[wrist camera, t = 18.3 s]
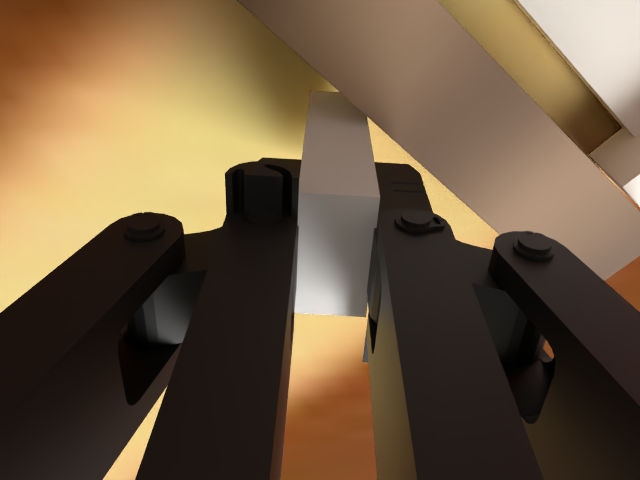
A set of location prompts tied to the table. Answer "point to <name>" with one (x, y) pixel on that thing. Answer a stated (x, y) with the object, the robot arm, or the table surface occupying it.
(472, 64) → the brown long bar
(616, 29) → the corral
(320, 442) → the table surface
